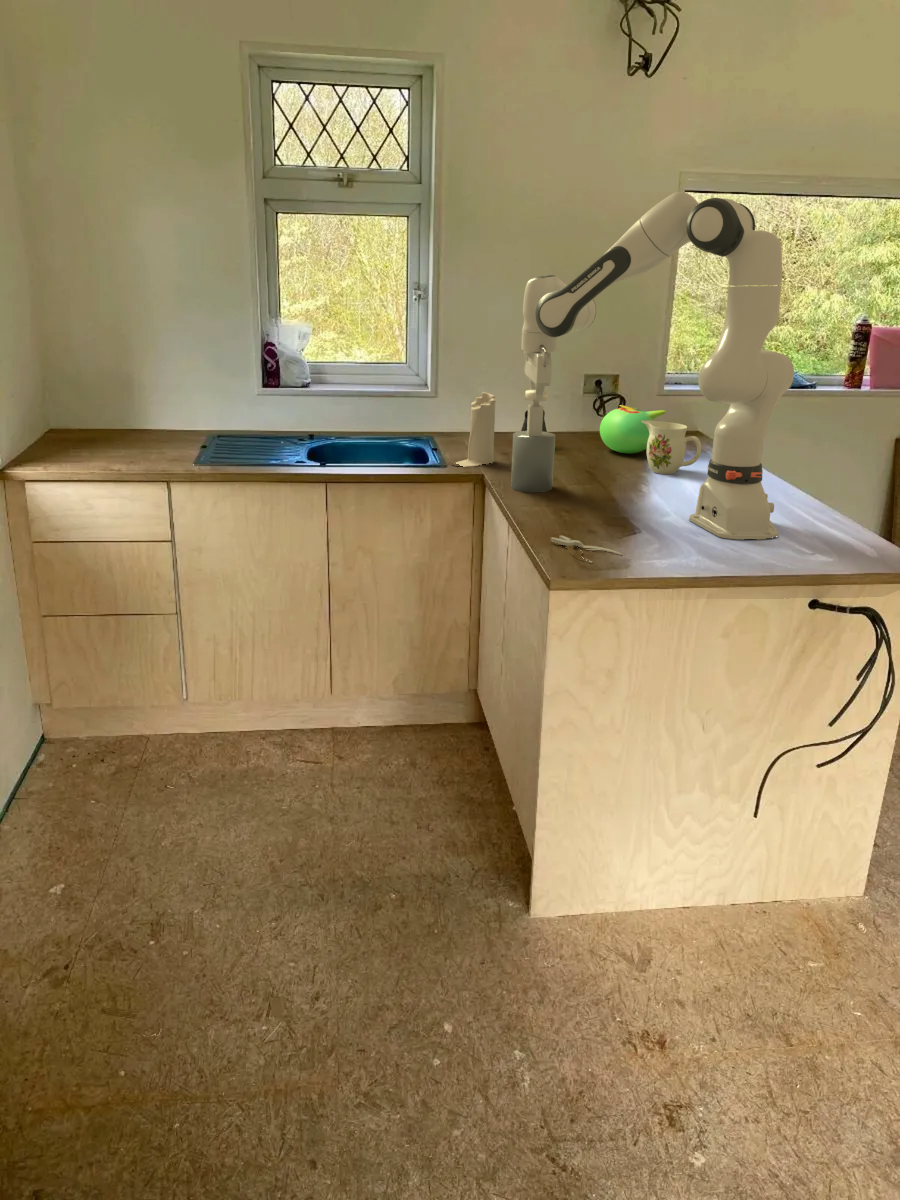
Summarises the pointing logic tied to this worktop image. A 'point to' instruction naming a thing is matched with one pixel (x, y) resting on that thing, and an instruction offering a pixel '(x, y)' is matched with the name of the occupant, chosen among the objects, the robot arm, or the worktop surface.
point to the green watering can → (627, 429)
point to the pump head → (531, 397)
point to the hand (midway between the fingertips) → (536, 398)
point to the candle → (481, 431)
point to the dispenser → (533, 455)
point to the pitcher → (668, 446)
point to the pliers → (579, 544)
